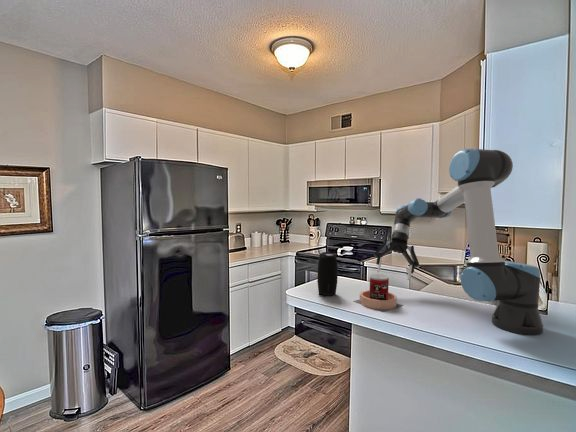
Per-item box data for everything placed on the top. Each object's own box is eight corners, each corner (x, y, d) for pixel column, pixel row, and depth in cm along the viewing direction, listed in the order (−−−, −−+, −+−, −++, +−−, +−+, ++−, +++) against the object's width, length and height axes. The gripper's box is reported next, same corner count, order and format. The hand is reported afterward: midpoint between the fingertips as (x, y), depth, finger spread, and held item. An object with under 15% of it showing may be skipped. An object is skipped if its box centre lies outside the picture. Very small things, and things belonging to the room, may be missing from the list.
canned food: (367, 303, 138) (368, 277, 137) (371, 298, 145) (372, 273, 144) (385, 306, 135) (386, 279, 134) (389, 300, 142) (390, 275, 141)
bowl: (403, 304, 138) (404, 296, 138) (381, 311, 129) (381, 303, 129) (375, 295, 150) (375, 288, 150) (352, 301, 141) (353, 293, 141)
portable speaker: (320, 291, 158) (321, 251, 157) (339, 293, 154) (340, 252, 153) (314, 296, 150) (315, 253, 149) (334, 298, 146) (335, 255, 145)
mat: (404, 306, 138) (404, 305, 138) (383, 313, 129) (383, 312, 129) (373, 296, 150) (373, 295, 150) (352, 302, 142) (352, 301, 142)
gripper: (424, 244, 159) (419, 285, 149) (373, 232, 165) (365, 270, 155) (429, 237, 153) (424, 279, 143) (375, 225, 158) (367, 265, 148)
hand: (393, 275), depth 149 cm, fingers open, 13 cm apart
